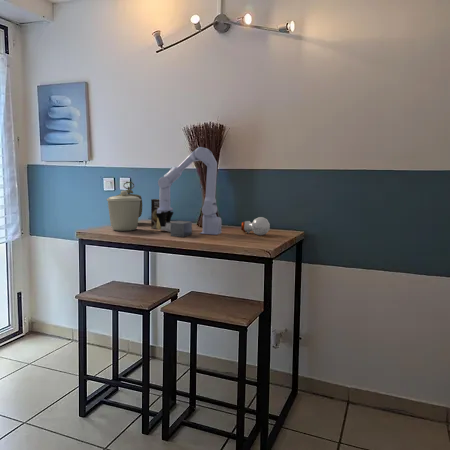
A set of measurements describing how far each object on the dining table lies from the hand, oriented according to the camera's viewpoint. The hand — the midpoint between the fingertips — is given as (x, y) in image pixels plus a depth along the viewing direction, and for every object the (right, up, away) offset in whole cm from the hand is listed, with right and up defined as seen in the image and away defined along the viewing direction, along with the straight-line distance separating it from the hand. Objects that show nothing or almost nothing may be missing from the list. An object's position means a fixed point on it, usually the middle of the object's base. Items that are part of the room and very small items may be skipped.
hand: (164, 225), depth 224 cm
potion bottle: (+47, -5, -5) cm, 48 cm away
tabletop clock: (-25, +1, +30) cm, 40 cm away
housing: (+10, -5, -12) cm, 16 cm away
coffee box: (-4, -2, +13) cm, 14 cm away
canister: (-22, -2, +3) cm, 23 cm away
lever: (+1, -2, -1) cm, 3 cm away
